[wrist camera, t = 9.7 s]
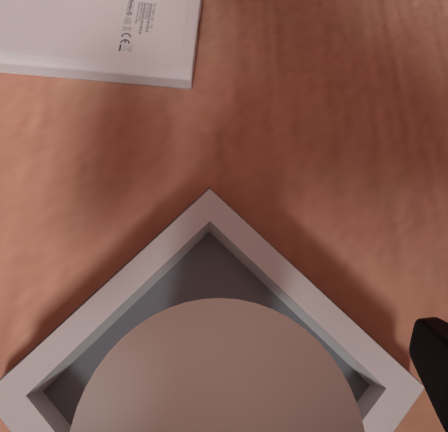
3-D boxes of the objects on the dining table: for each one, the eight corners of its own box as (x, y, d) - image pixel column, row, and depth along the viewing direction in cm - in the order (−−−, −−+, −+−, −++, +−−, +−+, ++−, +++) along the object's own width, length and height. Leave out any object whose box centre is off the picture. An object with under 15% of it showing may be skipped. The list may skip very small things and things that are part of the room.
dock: (409, 382, 16) (443, 387, 14) (209, 655, 13) (210, 721, 11) (209, 195, 19) (209, 173, 16) (-2, 389, 16) (-38, 396, 13)
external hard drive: (4, -33, 24) (205, -15, 24) (-35, 76, 21) (192, 96, 21) (-10, -60, 22) (205, -40, 23) (-54, 55, 20) (191, 76, 20)
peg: (280, 357, 16) (400, 365, 6) (239, 475, 14) (314, 718, 5) (180, 312, 16) (151, 256, 7) (130, 423, 15) (1, 555, 5)
